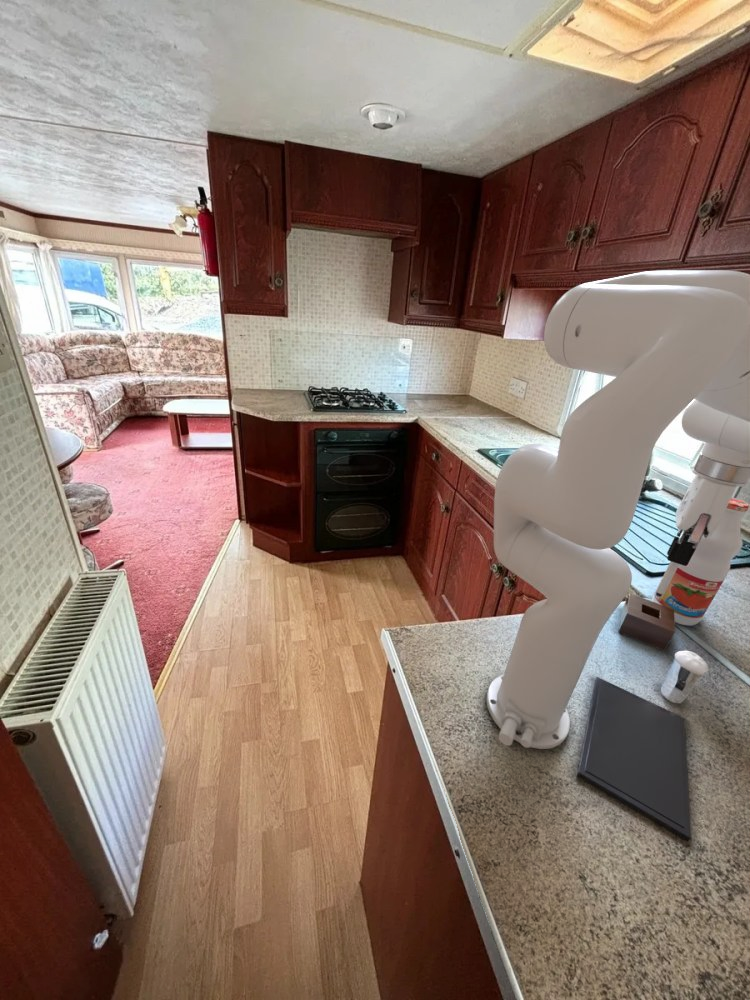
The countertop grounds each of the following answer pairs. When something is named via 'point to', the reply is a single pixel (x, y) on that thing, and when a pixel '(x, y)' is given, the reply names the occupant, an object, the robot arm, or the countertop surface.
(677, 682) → the milkshake
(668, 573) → the stylus
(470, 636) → the countertop surface
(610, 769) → the tablet
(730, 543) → the fruit juice
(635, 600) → the pen stand
